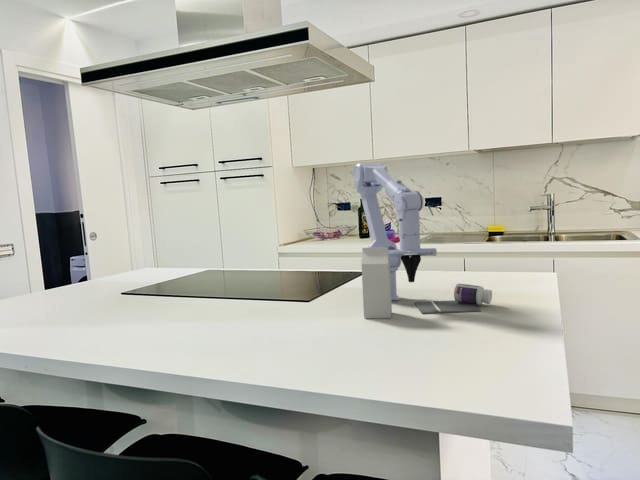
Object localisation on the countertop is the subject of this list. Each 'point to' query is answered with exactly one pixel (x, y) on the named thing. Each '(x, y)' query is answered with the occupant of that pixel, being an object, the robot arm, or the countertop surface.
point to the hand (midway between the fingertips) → (411, 281)
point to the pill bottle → (472, 294)
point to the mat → (445, 307)
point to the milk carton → (376, 282)
